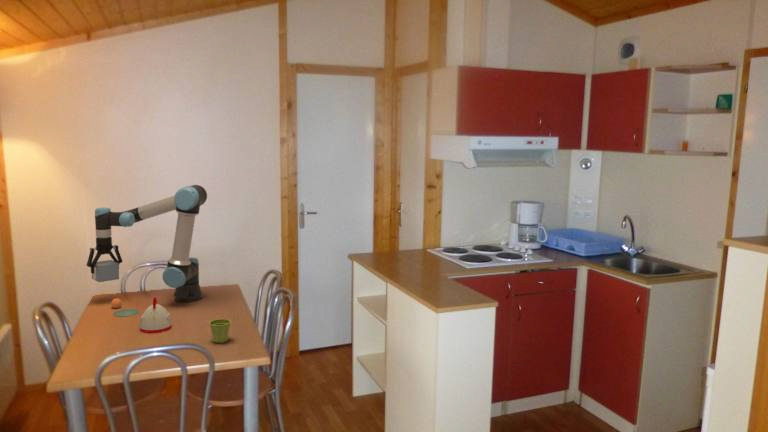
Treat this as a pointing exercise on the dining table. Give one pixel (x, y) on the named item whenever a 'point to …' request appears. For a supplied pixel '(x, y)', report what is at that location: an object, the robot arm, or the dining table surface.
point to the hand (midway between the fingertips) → (105, 277)
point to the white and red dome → (155, 319)
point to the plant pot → (220, 329)
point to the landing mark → (125, 312)
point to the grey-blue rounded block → (106, 271)
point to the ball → (116, 303)
